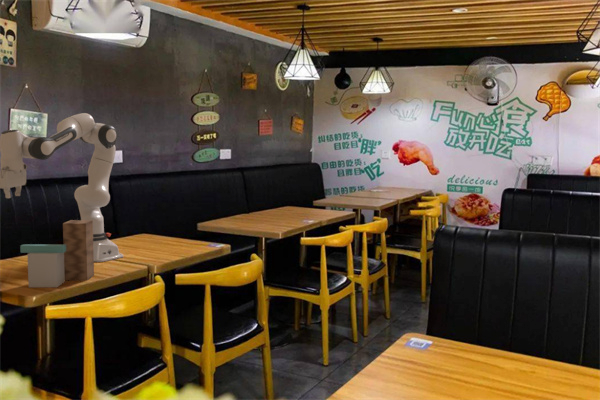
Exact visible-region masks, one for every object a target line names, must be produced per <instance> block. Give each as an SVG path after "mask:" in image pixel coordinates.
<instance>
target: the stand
mask: <svg viewBox="0 0 600 400" xmlns="http://www.w3.org/2000/svg"><path fill="white" fill-rule="evenodd" d="M62 237H63V239H62V240H63V244H66V252H64V271H65V280H66V281H68V280H69V281H71V282H72V281H75V282H76V281H89V280H90V279H91V278H92V277H94V276H95V262H94V252H93V220H81V219H79V220H78V219H74V220H73V219H70V220H68V221H65V222H63V223H62ZM66 281H65V282H66Z"/></svg>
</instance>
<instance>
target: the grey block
mask: <svg viewBox="0 0 600 400" xmlns="http://www.w3.org/2000/svg"><path fill="white" fill-rule="evenodd" d="M26 255H27V274H28V275H27V276H28V277H27V278H28V279H27V280H28V283H27V284H28V288H59V287H60V286H61V285H62V283H63V284H64V283H65V282H66V281H65V271H64V253H27V254H26Z"/></svg>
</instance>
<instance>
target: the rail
mask: <svg viewBox="0 0 600 400" xmlns="http://www.w3.org/2000/svg"><path fill="white" fill-rule="evenodd" d="M19 246H20V253H21V254H23V253H25V254H26V253H27V254H29V253H64V252H66V244H64V243H63V244H61V243H60V244H58V243H57V244H54V243H53V244H50V243H49V244H41V243H40V244H39V243H38V244H36V243H35V244H32V243H30V244H28V243H27V244H25V243H24V244H21V245H19Z"/></svg>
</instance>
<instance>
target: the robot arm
mask: <svg viewBox="0 0 600 400" xmlns="http://www.w3.org/2000/svg"><path fill="white" fill-rule="evenodd" d="M117 138H118V133H117V129H116V128H115V127H114V126H112V125H110V124H105V123H100V122H95V120H94V118H93V116H92V115H91V114H89V113H86V112H83V113H77V114H74V115H72V116H68V117H66V118H63V120H60V121H59V122H58V123H57V125H56V133H54V134H52V135H51V136H47V137H46V136H45V137H41V136H40V137H32V136H28V135H27V134H24V133H23V132H21V130H19V129H7V130H4V131H2V132H1V133H0V190H1V189H2V190H3V193H4V194H5V199H11V198H12V194H11V192H10V191H11V189H12V188H15V191H14V196H15V197H20V196H21V191H22V186H26V185H27V169H28V165H27V164H26V163H25V162H24V161H23V160H24V159H23V158H25V159H32V160H33V159H34V160H41V161H44V160H45V161H46V160H48V159H49V158H51V157H52V156H53V155H54V153H55V152H56V151H57V150H59V149H60V148H62V147H64V146H65V145H67V144H69V143H70V142H71V143H72V142H73V141H75V140H78V139H80V140H81V141H82V142H84V143H87V144H92V145H94V151H93V154H92V156H91V159H90V162H89V165H88V170H87V175H88V184H84V185H81V186H78V187H77V188H76V189H75V191H74V199H75V201H76V203H77V206H78V207H77V208H78V211H79V215H80V220H93V252H94V263H95V262H97V263H101V262H107V261H112V260H117V259H120V258H124V254H123V253H121V252H120V250H119V246H118V245H117V244H116V243H114V242H113V241H112V240H110V239H109V238H110V237H111V235H112V234H111V233H110V232H105V228H104V227H105V224H104V216H103V214H102V211H101V208H102V207H106V206H107V205H108V204H109V203H110V200H111V195H110V192H109V184H110V183H109V182H110V176H111V172H112V168H113V165H114V162H115V157H116V145H115V144H116V142H117V140H118V139H117Z"/></svg>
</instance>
